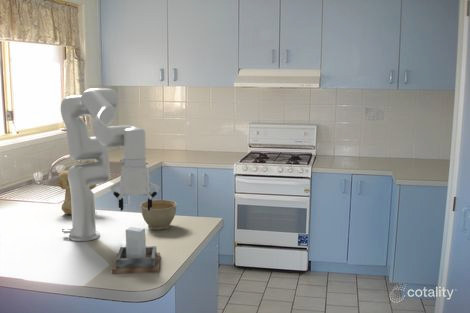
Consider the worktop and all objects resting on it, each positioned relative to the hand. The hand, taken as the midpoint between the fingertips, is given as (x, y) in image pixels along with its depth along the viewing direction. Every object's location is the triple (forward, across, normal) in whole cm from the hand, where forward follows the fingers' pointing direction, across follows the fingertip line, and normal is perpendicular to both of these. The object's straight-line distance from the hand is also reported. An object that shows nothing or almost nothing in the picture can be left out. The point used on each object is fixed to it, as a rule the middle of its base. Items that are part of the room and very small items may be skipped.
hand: (135, 209), depth 183 cm
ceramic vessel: (+22, -35, +74) cm, 84 cm away
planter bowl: (+21, +6, +46) cm, 51 cm away
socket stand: (+21, 0, 0) cm, 21 cm away
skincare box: (+19, 0, 0) cm, 19 cm away
